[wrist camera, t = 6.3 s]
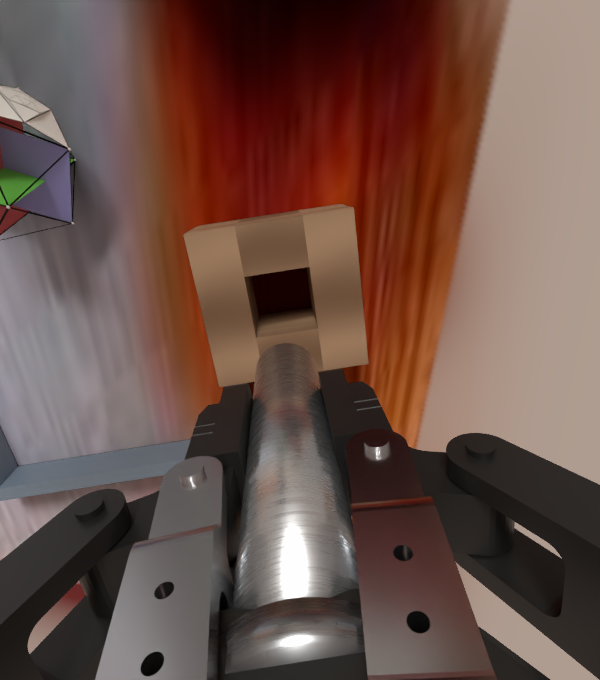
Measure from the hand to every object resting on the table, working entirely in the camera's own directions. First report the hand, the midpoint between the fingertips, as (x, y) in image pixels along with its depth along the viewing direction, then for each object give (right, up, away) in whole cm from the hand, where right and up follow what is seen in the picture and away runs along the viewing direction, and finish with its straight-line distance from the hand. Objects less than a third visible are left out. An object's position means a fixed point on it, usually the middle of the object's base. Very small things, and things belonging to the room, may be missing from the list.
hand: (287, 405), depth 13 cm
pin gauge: (0, +1, +2) cm, 3 cm away
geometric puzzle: (-15, +12, +12) cm, 23 cm away
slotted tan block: (-1, +6, +15) cm, 16 cm away
